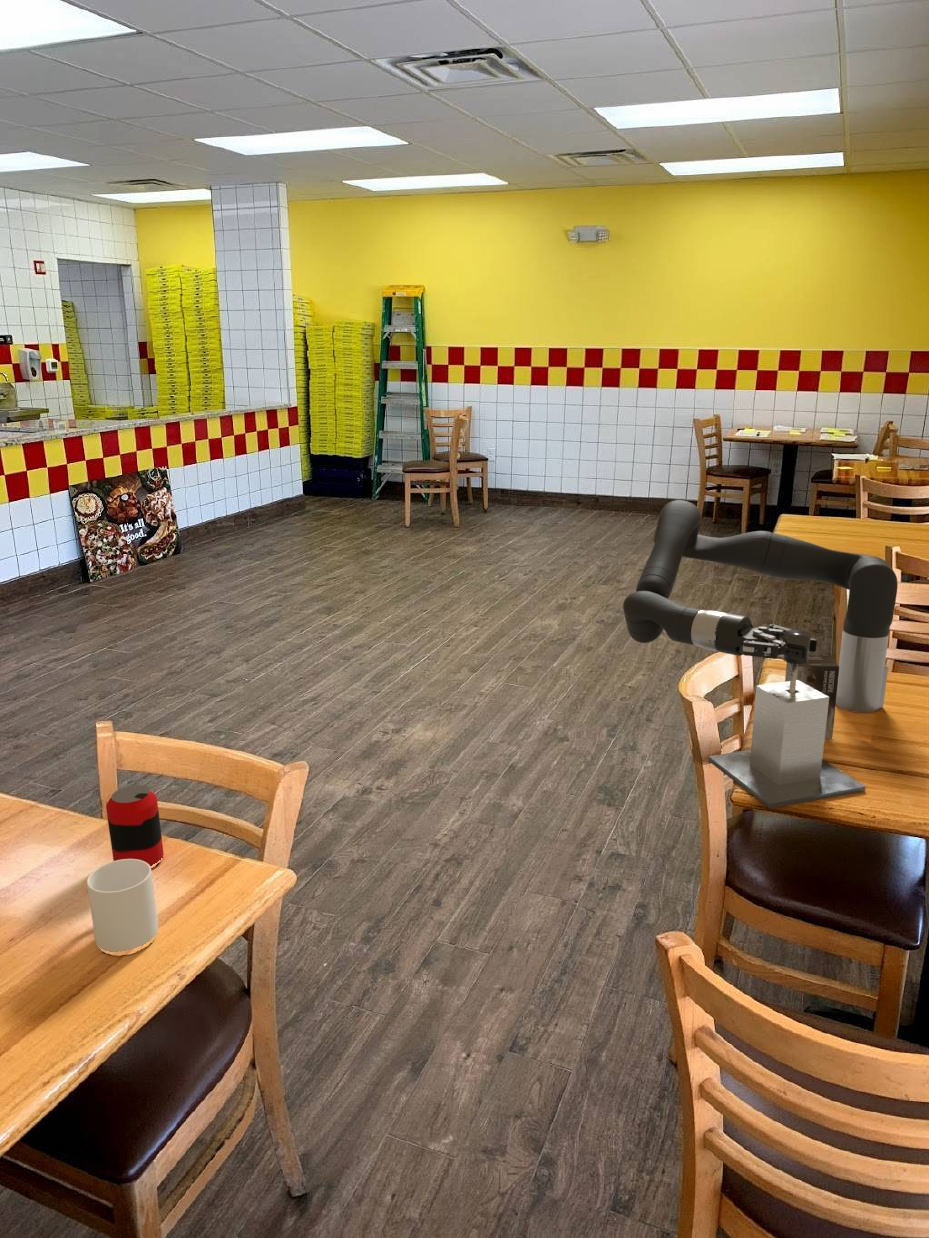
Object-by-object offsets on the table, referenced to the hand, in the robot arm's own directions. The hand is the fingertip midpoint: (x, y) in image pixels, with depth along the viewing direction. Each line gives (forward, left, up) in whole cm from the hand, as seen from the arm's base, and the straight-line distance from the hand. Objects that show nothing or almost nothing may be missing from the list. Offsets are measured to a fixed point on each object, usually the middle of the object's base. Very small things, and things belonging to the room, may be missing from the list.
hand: (811, 649), depth 165 cm
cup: (+118, +9, -26) cm, 121 cm away
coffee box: (-14, -17, -26) cm, 34 cm away
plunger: (+2, -2, -19) cm, 19 cm away
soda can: (+117, -9, -26) cm, 120 cm away
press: (+2, -2, -26) cm, 26 cm away
